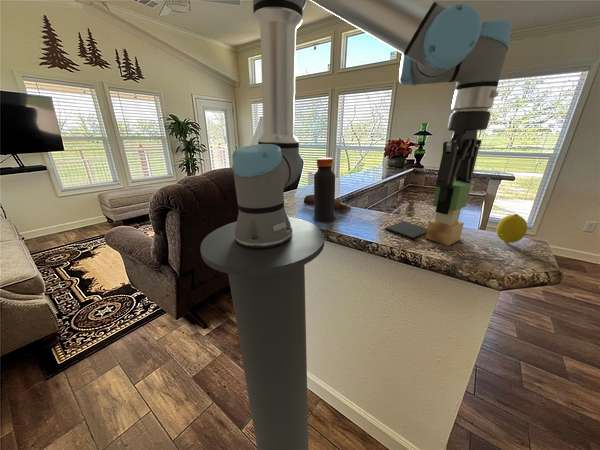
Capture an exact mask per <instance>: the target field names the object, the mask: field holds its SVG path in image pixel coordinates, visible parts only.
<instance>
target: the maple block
mask: <svg viewBox="0 0 600 450" xmlns="http://www.w3.org/2000/svg"><path fill="white" fill-rule="evenodd" d="M427 223H428V224H427V227H426V228H427V233H426V234H425V239H427V240H430V241H433V242H435V243H439V244H442V245H444V246H447V247H449V246H451V245H452V244H455V243H457V242H458V241H460V240H461V236H462V231H463V228H464V221H459V220H458V222H457V223H455V224H453V225H451V226H450V225H446V224H442V223H439V222H435V218H433V219H430V220H429V221H428V222H427Z"/></svg>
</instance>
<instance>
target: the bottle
mask: <svg viewBox="0 0 600 450" xmlns="http://www.w3.org/2000/svg"><path fill="white" fill-rule="evenodd" d="M333 163H334V159H333V158H332V157H318V158H316V166H317V167H316V168H317V171H316V172H315V173H314V175H313V195H314V205H313V217H314V218H313V219H314V220H315V221H317V222H322V223H327V222H332V221H333V220H334V219H335V209H334V203H335V199H336V198H335V197H336V174H335V173H334V171H333V170H332V168H333Z"/></svg>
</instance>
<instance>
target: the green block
mask: <svg viewBox="0 0 600 450" xmlns="http://www.w3.org/2000/svg"><path fill="white" fill-rule="evenodd" d="M435 186H436V185H435ZM471 187H472V182H471V183H466V182H459V181H456V180H454V183H453V186H452V188H454V190H453V194H452V199H451V203H450V208H449V210H454V211H456V210H458V209H461V210H462V209H463V208H466V206H467V202H468V199H469V195H470V190H471ZM440 188H441V187H437V186H436V187H435V191H434V196H433V201H432V206H433V207H437V202H438V197H439V193H440Z"/></svg>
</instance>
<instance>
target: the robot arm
mask: <svg viewBox="0 0 600 450" xmlns="http://www.w3.org/2000/svg"><path fill="white" fill-rule="evenodd" d="M309 1H310V2H312V3H313V4H315V5H317V6H319V7H320V8H323V9H324V10H326V11H327V12H330V13H331V14H333V15H335V16H336V17H338V18H340V19H341V20H343V21H345V22H346V23H348V24H350V25H352V26H354V27H355V28H357V29H359V31H360V30H361V31H362V32H364V33H366V34H367V35H369V36H371V37H373V38H375V39H376V40H378V41H380V42H381V43H383V44H385V45H386V46H388V47H391V48H392V49H394V50H395V51H397V52H399V53H400V54H401V60H400V66H399V76H398V82H399V84H400V85H402V86H418V85H427V84H428V85H429V84H430V85H431V84H441V83H455V89H454V94H453V98H452V103H451V108H450V110H451V111H453V112H452V113H451V114H450V115H449V118H448V124H447V130H448V131H449V132H450V131H451V132H453V133H452V136H451V138H450V141H444V142H443V144H442V155H441V159H440V164H439V168H438V172H437V177H436V181H435V186H437V187H441V188H440V193H439V197H438V202H437V206H435V213H436V212H438V213H442V214H446V215H447V214H448V212H449V208H450V203H451V199H452V194H453V190H454V188H452V186H453V183H454V181H459V182H466V183H471V184H472V179H473V174H474V170H475V167H476V162H477V158H478V155H479V154H478V153H479V149H480V147H481V144H482V139H478V138H477V137H478V131H485V130H487V129H488V126H489V122H490V119H491V114H492V113H491V112H490V111H489V110H490V109H492V108H493V105H494V101H495V98H497V97H498V96H499V91H497V90H498V86H499V83H500V82H499V81H500V78H501V74H502V70H503V67H504V63H505V60H506V56H507V53H508V51H509V46H510V40H511V36H512V30H513V24H512V22H511V21H510V20H508V19H504V18H498V19H497V18H496V19H490V20H488V21H483V22H482V18H481V15H480V13H479V12H478V10H477V9H476V8H475V7H474V6H472V5H471V4H468V3H457V4H454V5H453V4H452V5H451V6H449V7H445V6H444V5H441V4H439V3H438V2H436V1H434V0H309ZM307 2H308V0H252V9H253V11H252V15H253V20H254V22H256V24H257V25H258V26H259V28H260V29H259V30H260V31H259V32H260V62H261V63H260V65H261V97H262V99H261V100H262V132H263V133H262V135H261V136H260V137H259V138H258V140H257V144H251V145H245V146H244V145H243V146H241V147H239V148H237V149H235V150H234V151H233V152H232V155H231V159H232V165H231V169H232V172H233V181H234V187H235V193H236V200H237V209H238V214H237V220H236V221H237V224H236V228H235V234H234V235H235V242H236V243H237V244H238V245H239V246H241V247H243V248H247V249H253V250H264V249H271V248H276V247H279V246H282V245H284V244H286V243H287V242H289V241H290V240H291V239H292V236H293V235H292V227H291V224H290V222H289V219H288V217H289V216H288V215H287V212H286V209H285V196H284V194H285V193H284V190H285V188H287V187H289V186H290V185H292V184H294V183H295V182H296V181H297V180H298V178H299V177H300V176H301V173H302V171H303V160H302V159H303V158H302V156H301V154H300V141H299V139H298V138H297V137H296V136H295V105H296V104H295V99H296V98H295V97H296V96H295V95H296V52H297V51H296V47H297V45H296V43H297V42H296V41H297V29H298V28H299V27H300V26H301V25H302V23H303V16H304V15H303V13H304V9H305V8H306V4H307Z"/></svg>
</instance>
